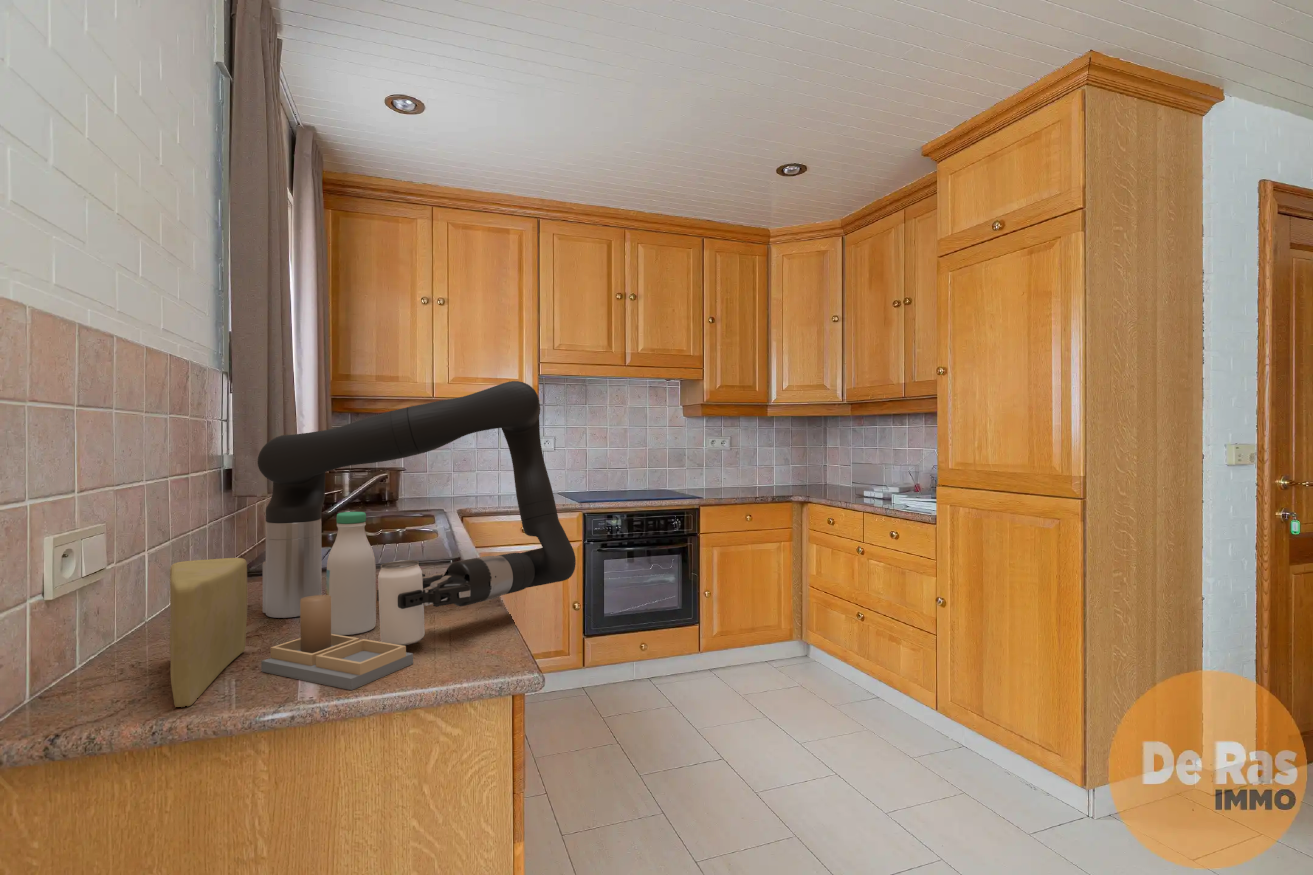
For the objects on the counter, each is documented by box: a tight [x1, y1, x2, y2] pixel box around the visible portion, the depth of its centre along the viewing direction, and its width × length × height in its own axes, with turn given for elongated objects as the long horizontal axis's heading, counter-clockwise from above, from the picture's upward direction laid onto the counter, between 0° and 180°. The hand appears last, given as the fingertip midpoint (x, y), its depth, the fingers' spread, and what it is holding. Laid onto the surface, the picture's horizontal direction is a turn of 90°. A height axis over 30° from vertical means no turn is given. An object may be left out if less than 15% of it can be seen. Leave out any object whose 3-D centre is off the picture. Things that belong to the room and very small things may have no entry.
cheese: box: [169, 557, 248, 708], centre depth 92 cm, size 22×10×15 cm, turn 26°
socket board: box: [260, 594, 414, 691], centre depth 96 cm, size 17×11×10 cm, turn 67°
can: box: [377, 559, 426, 646], centre depth 105 cm, size 6×6×12 cm
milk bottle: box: [325, 511, 377, 636], centre depth 115 cm, size 8×8×20 cm
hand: (389, 598), depth 103 cm, fingers closed on can, 5 cm apart
